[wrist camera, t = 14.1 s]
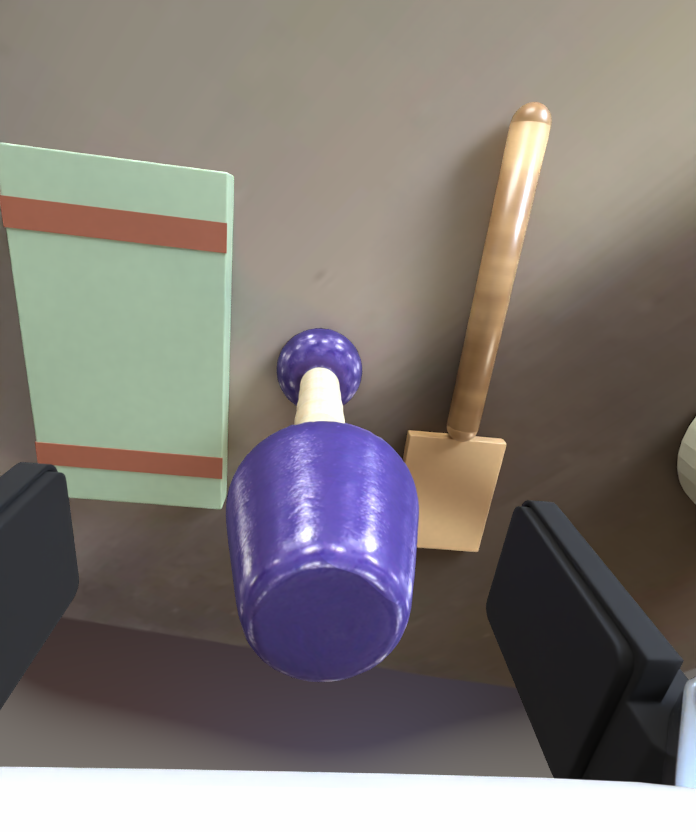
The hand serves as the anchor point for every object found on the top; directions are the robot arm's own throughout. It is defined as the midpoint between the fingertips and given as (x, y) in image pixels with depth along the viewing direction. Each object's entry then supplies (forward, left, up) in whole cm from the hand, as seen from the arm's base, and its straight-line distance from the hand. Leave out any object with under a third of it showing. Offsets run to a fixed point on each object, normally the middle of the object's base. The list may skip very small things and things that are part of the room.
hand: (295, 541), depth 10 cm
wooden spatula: (+8, +1, -15) cm, 16 cm away
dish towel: (-9, 0, -15) cm, 17 cm away
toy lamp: (+1, 0, -15) cm, 15 cm away
